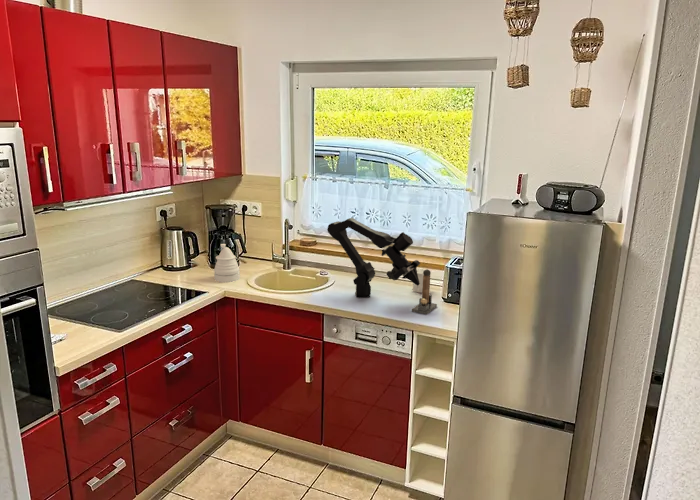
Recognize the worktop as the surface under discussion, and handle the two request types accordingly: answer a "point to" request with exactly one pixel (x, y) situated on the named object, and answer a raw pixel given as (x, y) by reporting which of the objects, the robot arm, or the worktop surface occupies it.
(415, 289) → the white cup
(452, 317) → the worktop surface
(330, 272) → the worktop surface
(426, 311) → the press base
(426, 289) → the lever
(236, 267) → the honey pot
